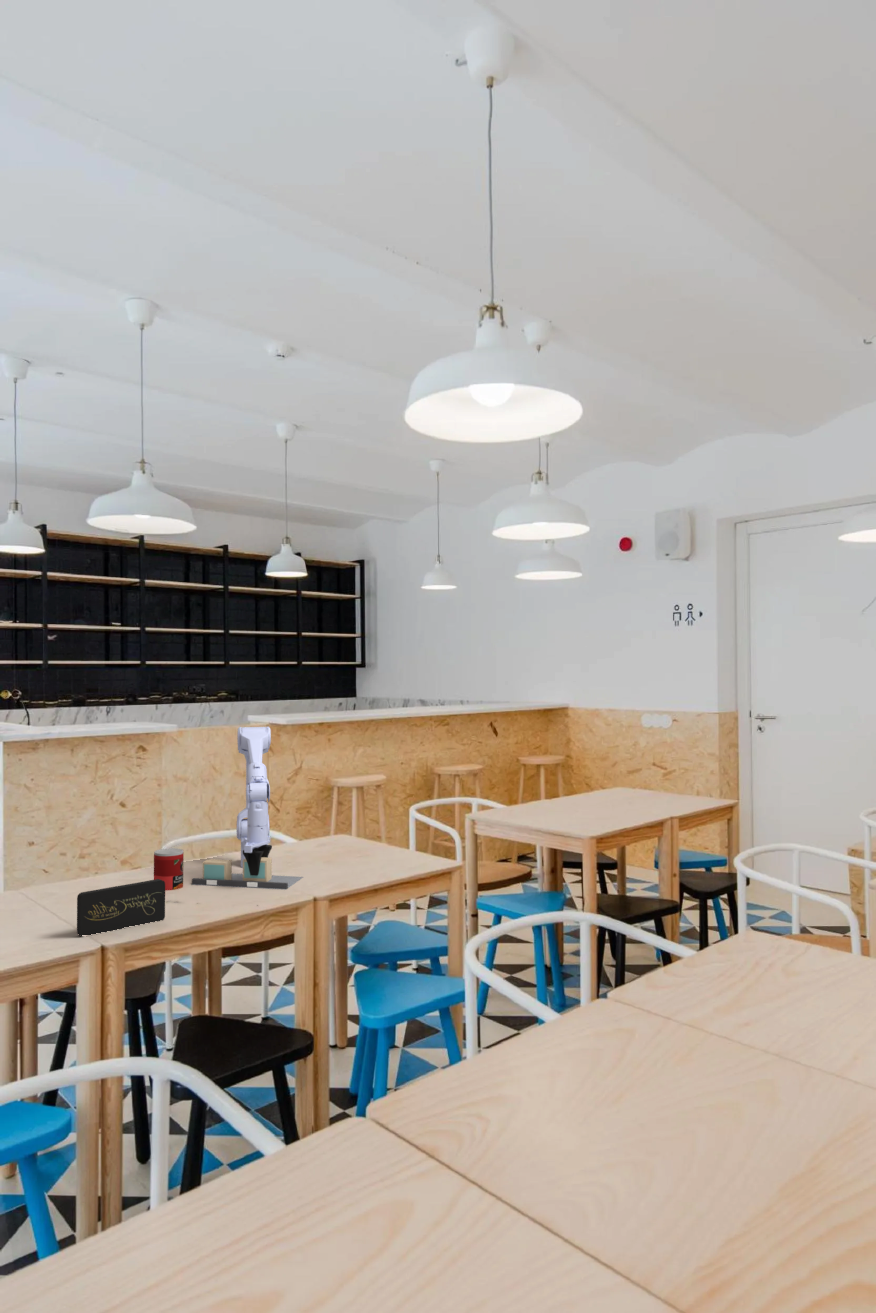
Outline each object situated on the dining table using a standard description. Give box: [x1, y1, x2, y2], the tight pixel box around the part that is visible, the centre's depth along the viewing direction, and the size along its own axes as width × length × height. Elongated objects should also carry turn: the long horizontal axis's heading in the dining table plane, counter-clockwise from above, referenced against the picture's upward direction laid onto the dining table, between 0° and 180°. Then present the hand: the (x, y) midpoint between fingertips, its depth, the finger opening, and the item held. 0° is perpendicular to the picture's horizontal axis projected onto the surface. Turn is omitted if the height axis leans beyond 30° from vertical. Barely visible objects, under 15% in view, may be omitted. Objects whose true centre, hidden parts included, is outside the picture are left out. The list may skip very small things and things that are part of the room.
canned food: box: [153, 847, 185, 892], centre depth 247 cm, size 8×8×11 cm
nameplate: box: [76, 879, 166, 937], centre depth 212 cm, size 21×2×10 cm, turn 134°
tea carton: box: [242, 857, 273, 882], centre depth 251 cm, size 7×4×6 cm, turn 80°
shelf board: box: [191, 872, 304, 891], centre depth 255 cm, size 15×28×2 cm, turn 80°
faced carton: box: [201, 858, 233, 880], centre depth 253 cm, size 7×4×6 cm, turn 80°
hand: (257, 873), depth 251 cm, fingers closed on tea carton, 4 cm apart
